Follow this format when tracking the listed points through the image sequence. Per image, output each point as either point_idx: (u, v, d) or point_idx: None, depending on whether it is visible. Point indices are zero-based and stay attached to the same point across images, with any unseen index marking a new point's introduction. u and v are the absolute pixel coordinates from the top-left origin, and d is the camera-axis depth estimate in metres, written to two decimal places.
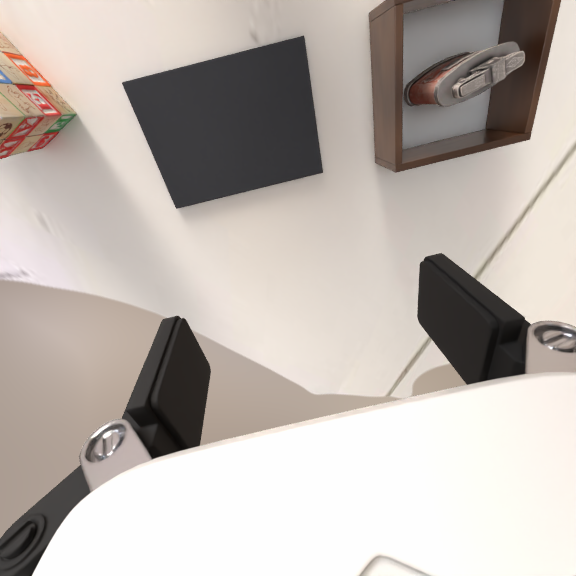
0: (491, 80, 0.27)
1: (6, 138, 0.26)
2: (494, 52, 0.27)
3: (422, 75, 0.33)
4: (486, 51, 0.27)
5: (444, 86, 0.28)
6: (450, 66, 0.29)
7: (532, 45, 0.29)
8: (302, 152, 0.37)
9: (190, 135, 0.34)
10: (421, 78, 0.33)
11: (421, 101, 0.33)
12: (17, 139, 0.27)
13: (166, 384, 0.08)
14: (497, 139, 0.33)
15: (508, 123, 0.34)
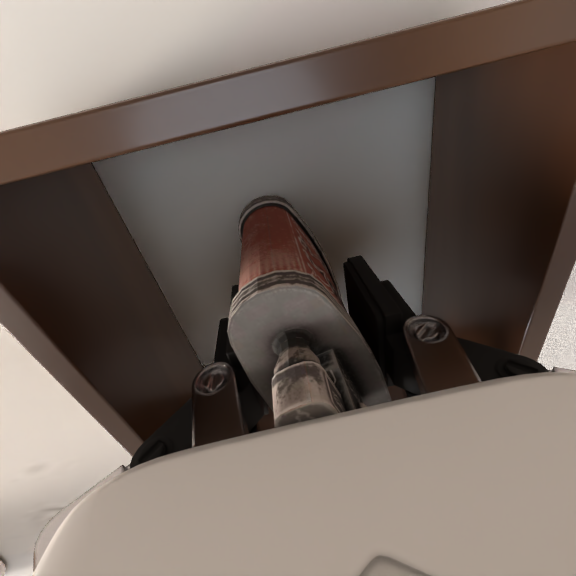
0: None
1: None
2: (265, 374, 0.08)
3: None
4: (264, 394, 0.08)
5: None
6: None
7: None
8: None
9: None
10: None
11: None
12: None
13: None
14: (562, 181, 0.07)
15: None
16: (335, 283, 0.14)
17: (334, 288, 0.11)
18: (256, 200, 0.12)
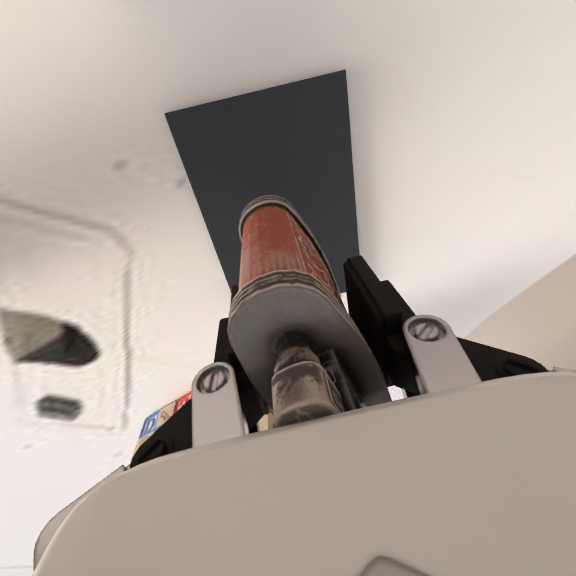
0: None
1: None
2: (264, 374, 0.08)
3: None
4: (263, 393, 0.08)
5: None
6: None
7: None
8: (311, 112, 0.23)
9: None
10: None
11: None
12: None
13: None
14: None
15: None
16: (335, 283, 0.14)
17: (334, 288, 0.11)
18: (256, 200, 0.12)
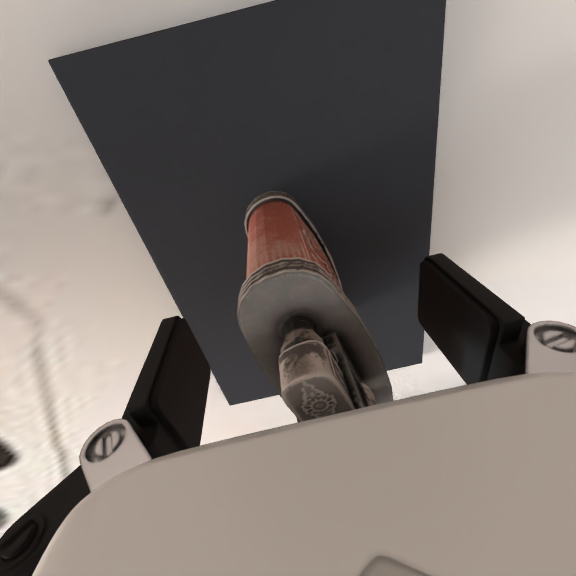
0: None
1: None
2: (271, 356, 0.08)
3: None
4: (270, 376, 0.09)
5: None
6: None
7: None
8: (365, 59, 0.11)
9: None
10: None
11: None
12: None
13: (166, 384, 0.08)
14: None
15: None
16: (337, 276, 0.15)
17: (336, 279, 0.12)
18: (261, 195, 0.13)
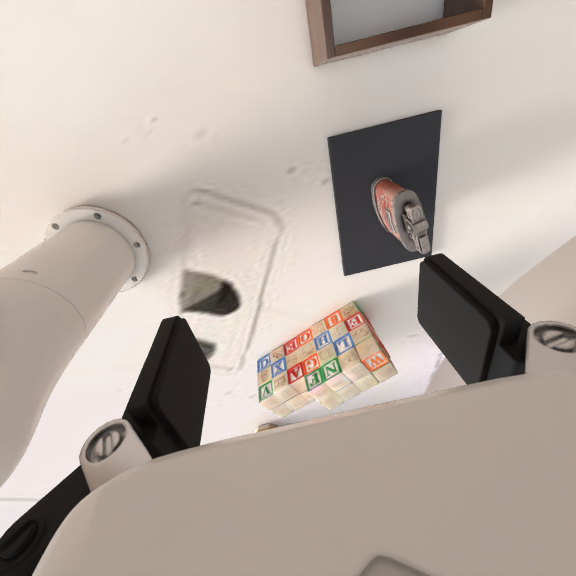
0: (424, 229, 0.32)
1: (381, 346, 0.43)
2: (398, 215, 0.33)
3: (383, 223, 0.41)
4: (396, 221, 0.34)
5: (412, 247, 0.36)
6: (393, 231, 0.37)
7: None
8: (416, 136, 0.36)
9: (382, 237, 0.43)
10: (385, 225, 0.41)
11: None
12: (377, 339, 0.45)
13: (166, 384, 0.08)
14: None
15: None
16: None
17: None
18: (379, 178, 0.38)
